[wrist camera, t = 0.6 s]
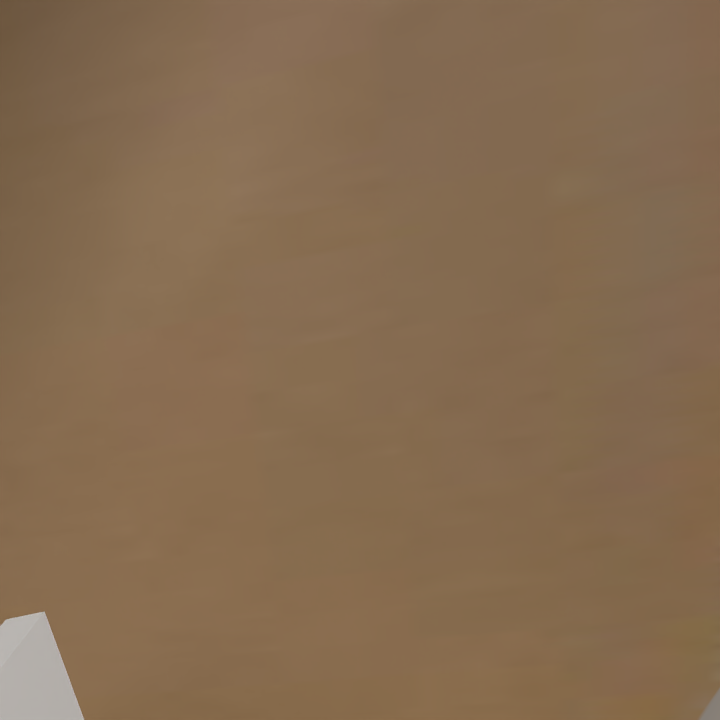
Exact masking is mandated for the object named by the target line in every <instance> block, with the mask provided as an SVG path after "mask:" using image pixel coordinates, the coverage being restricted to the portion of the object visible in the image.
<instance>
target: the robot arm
mask: <svg viewBox="0 0 720 720" xmlns="http://www.w3.org/2000/svg"><path fill="white" fill-rule="evenodd" d="M0 720H84V718H83V716H82V713H81V710H80V707H79V705H78V702H77V699H76V696H75V694H74V691H73V688H72V686H71V683H70V680H69V677H68V675H67V672H66V669H65V666H64V664H63V661H62V658H61V656H60V653H59V650H58V647H57V645H56V642H55V639H54V636H53V634H52V631H51V628H50V626H49V623H48V620H47V617H46V615H45V612H40V613H35V614H30V615H26V616H21V617H16V618H11V619H6V620H5V622H4V623H3V624H2V625H1V626H0Z"/></svg>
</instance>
